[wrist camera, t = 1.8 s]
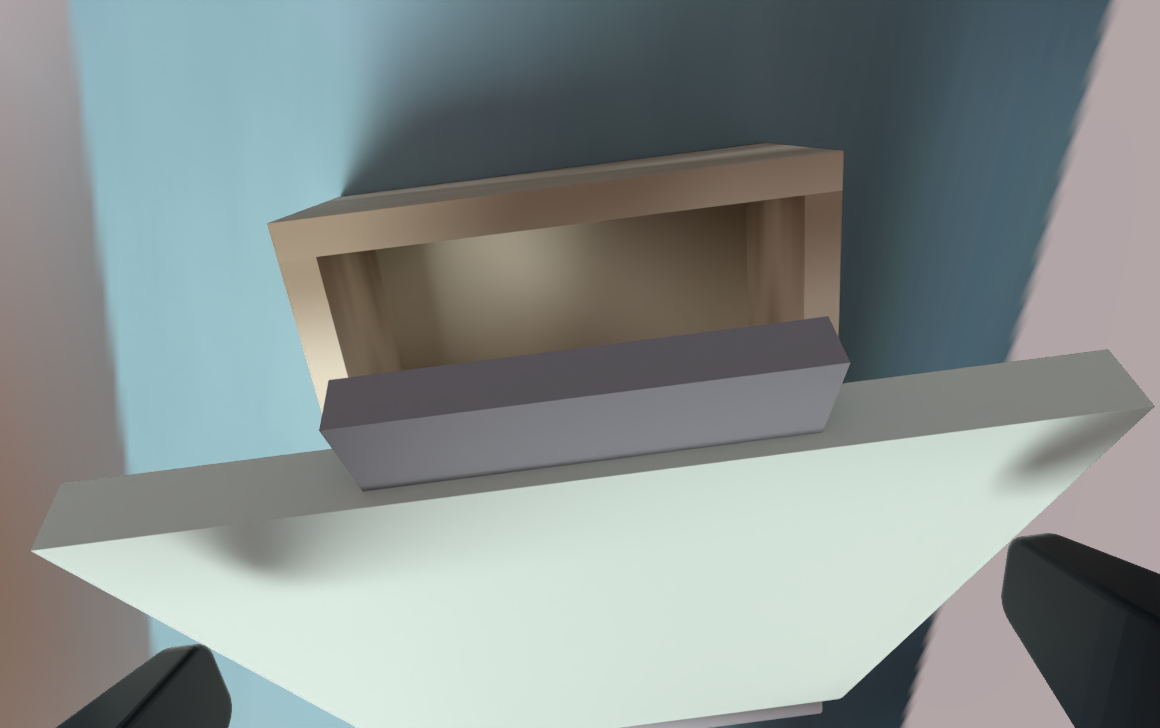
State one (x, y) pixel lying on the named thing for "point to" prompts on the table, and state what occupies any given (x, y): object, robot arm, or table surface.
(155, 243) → the table surface
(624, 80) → the table surface
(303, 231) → the box
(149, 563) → the lid
